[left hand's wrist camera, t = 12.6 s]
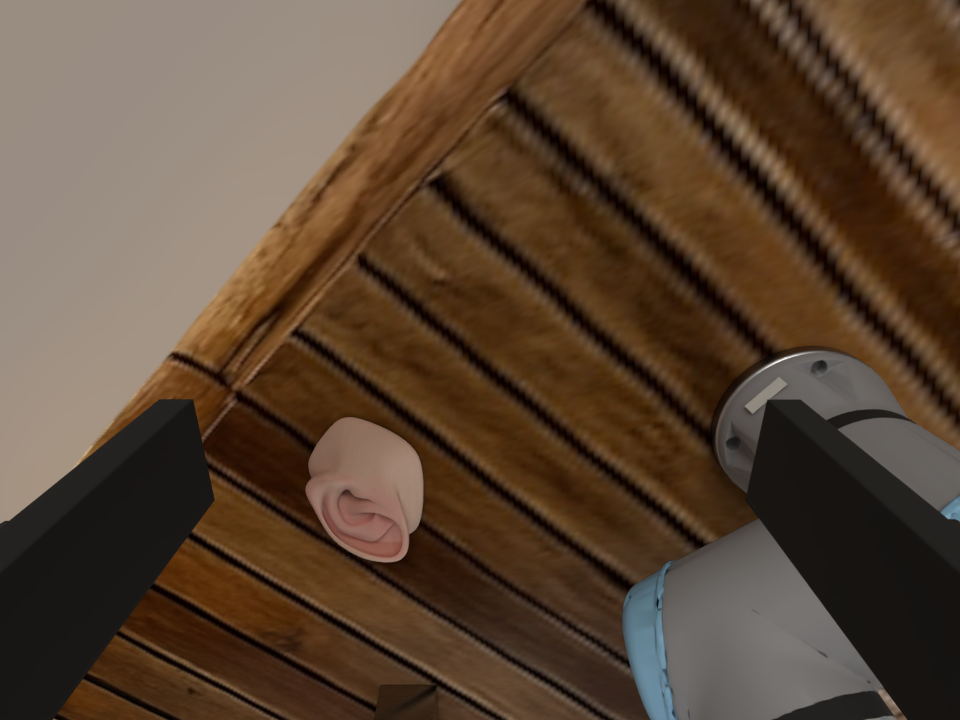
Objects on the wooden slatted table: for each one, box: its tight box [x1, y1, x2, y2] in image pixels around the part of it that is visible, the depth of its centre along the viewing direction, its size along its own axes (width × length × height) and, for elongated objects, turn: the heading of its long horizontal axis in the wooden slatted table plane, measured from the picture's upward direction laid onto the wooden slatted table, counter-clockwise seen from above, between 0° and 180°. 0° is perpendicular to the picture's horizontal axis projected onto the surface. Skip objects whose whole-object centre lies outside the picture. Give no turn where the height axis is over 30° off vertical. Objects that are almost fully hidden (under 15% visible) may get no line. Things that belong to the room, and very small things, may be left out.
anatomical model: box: [306, 417, 423, 562], centre depth 51 cm, size 13×4×12 cm
